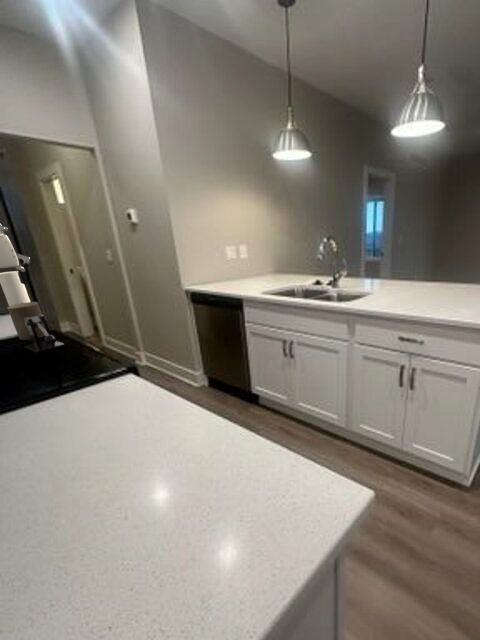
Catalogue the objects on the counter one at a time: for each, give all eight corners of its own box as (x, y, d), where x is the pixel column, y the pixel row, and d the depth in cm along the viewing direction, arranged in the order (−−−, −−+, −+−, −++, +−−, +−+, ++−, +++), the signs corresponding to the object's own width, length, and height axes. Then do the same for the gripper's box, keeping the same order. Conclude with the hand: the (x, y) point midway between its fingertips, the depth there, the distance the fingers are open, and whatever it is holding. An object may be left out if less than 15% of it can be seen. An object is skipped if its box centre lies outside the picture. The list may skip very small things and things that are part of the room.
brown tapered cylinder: (52, 337, 137) (39, 300, 131) (22, 344, 130) (7, 305, 125) (47, 333, 143) (34, 297, 137) (18, 339, 137) (3, 302, 131)
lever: (58, 344, 120) (57, 338, 118) (47, 347, 118) (47, 340, 116) (39, 321, 123) (38, 314, 121) (29, 323, 121) (28, 316, 119)
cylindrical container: (41, 329, 149) (20, 270, 140) (40, 333, 144) (18, 272, 134) (21, 332, 146) (-2, 272, 136) (19, 336, 140) (-5, 274, 131)
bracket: (65, 347, 125) (55, 315, 120) (37, 355, 118) (24, 322, 113) (52, 341, 131) (42, 311, 127) (25, 349, 125) (13, 317, 120)
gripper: (16, 230, 116) (33, 281, 122) (-53, 232, 103) (-31, 289, 110) (24, 229, 112) (40, 283, 118) (-47, 232, 99) (-25, 291, 106)
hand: (6, 286), depth 114 cm, fingers open, 9 cm apart
